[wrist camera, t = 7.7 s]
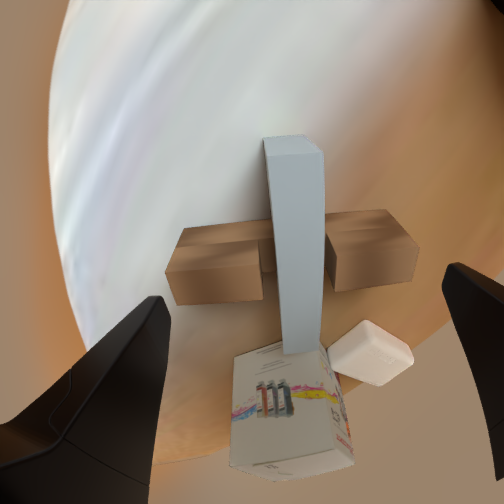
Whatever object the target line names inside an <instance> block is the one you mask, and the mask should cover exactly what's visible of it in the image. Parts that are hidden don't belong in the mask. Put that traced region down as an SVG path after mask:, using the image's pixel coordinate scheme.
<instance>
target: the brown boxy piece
mask: <svg viewBox="0 0 504 504" xmlns="http://www.w3.org/2000/svg"><path fill="white" fill-rule="evenodd" d="M419 248H420V247H419V246H418V245H417V243H416V242H415V241H414V240H413V239H412V238H411V236H410V235H409V234H408V233H407V232H406V231H405V230H404V228H403V227H402V226H401V225H400V224H399V223H398V222H397V221H396V220H395V218H394V217H393V216H392V215H391V214H390V213H389V212H388V211H387V210H371V211H357V212H344V213H331V214H325V241H324V266H326V269H327V272H328V274H329V277H330V280H331V283H332V286H333V289H334V292H339V291H347V290H355V289H362V288H370V287H377V286H383V285H390V284H397V283H403V282H409V281H412V278H413V274H414V270H415V266H416V261H417V257H418V253H419ZM274 271H277V267H276V255H275V244H274V233H273V223H272V219H264V220H255V221H245V222H236V223H227V224H218V225H209V226H201V227H192V228H184V230H183V232H182V234H181V236H180V238H179V241H178V243H177V245H176V248H175V250H174V252H173V254H172V257H171V259H170V261H169V264H168V266H167V268H166V271H165V274H166V277H167V280H168V283H169V286H170V288H171V291H172V294H173V296H174V299H175V302H176V304H177V306H179V305H197V304H213V303H228V302H241V301H253V300H263V279H262V273H264V272H274Z"/></svg>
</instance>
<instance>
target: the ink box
mask: <svg viewBox="0 0 504 504" xmlns="http://www.w3.org/2000/svg"><path fill="white" fill-rule="evenodd" d="M354 464H355V458H354V453H353V448H352V442H351V436H350V431H349V425H348V420H347V415H346V410H345V405H344V400H343V395H342V390H341V385H340V381H339V376H338V372H335V371H333V370H332V369H331V367H330V364H329V359H328V355H327V352H326V350H325V349H324V347H323V346H322V344H321V342H320V341H319V351H312V352H303V353H294V354H284V353H283V342H282V341H280V342H277V343H274V344H271V345H268V346H266V347H263V348H260V349H257V350H254V351H251V352H248V353H245V354H242V355H239V356H236V357H234V368H233V392H232V416H231V438H230V462H229V466H230V467H232V468H235V469H237V470H240V471H242V472H245V473H248V474H251V475H254V476H257V477H260V478H263V479H267V480H270V481H273V482H275V481H281V480H297V479H302V478H306V477H311V476H315V475H319V474H323V473H327V472H331V471H334V470H338V469H342V468H345V467H348V466H352V465H354Z"/></svg>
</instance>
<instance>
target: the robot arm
mask: <svg viewBox="0 0 504 504" xmlns="http://www.w3.org/2000/svg"><path fill="white" fill-rule="evenodd" d="M491 1H492V3H493V4H494V5H495V6H496V8H497V9H498V10H499V11H500V12H501V13H502V14H503V15H504V0H491ZM442 292H443V294H444V297H445V300H446V303H447V305H448V308H449V311H450V314H451V317H452V320H453V323H454V326H455V329H456V331H457V334H458V336H459V339H460V341H461V344H462V346H463V349H464V352H465V354H466V357H467V360H468V362H469V365H470V368H471V371H472V374H473V377H474V380H475V383H476V386H477V390H478V393H479V397H480V400H481V404H482V407H483V411H484V415H485V419H486V423H487V428H488V431H489V432H488V433H489V438H490V443H491V449H492V454H493V461H494V468H495V477H496V480H497V481H498V480H500V479H502V478H504V286H503V285H501V284H499V283H497V282H496V281H494V280H492V279H490V278H488V277H487V276H485V275H483V274H481V273H479V272H477V271H475V270H473V269H471V268H470V267H468V266H466V265H464V264H462V263H460V262H456V263H450V264H449V265H448V266H447V269H446V272H445V275H444V279H443V282H442ZM170 329H171V317H170V314H169V311H168V309H167V306H166V304H165V301H164V299H163V298H162V296H149V297H147V298H146V299H145V300H144V301H142V302H141V303H140V304H139V305H138V306H137V307H136V308H135V309H134V310H132V311H131V312H130V313H129V314H128V315H127V316H126V317H125V318H124V319H123V320H121V321H120V322H119V323H118V324H117V325H116V326H115V327H114V328H113V329H112V330H110V331H109V332H108V333H107V334H106V335H105V336H104V337H103V338H102V339H101V340H100V341H99V342H98V343H96V344H95V345H94V346H93V347H92V348H91V349H90V350H89V351H88V352H87V353H86V354H85V355H84V356H83V357H82V358H81V359H80V360H79V361H77V362H76V363H75V364H74V365H73V366H72V368H71V369H69V370H68V371H67V372H66V373H65V374H64V375H63V376H62V377H61V378H60V379H59V380H58V381H56V382H55V383H54V384H53V385H52V386H51V387H50V388H49V389H48V390H47V391H45V392H44V393H43V394H42V395H41V396H40V397H39V398H37V399H36V400H35V401H34V402H33V403H31V404H30V405H29V406H28V407H27V408H26V409H24V410H23V411H22V412H21V413H19V415H17V416H16V417H15V418H13V419H12V420H10V421H9V422H7V423H4V424H0V504H148V495H149V484H150V475H151V467H152V459H153V451H154V444H155V437H156V430H157V423H158V417H159V411H160V405H161V399H162V393H163V387H164V382H165V376H166V371H167V364H168V352H169V340H170Z"/></svg>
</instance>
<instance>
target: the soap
mask: <svg viewBox="0 0 504 504" xmlns="http://www.w3.org/2000/svg"><path fill="white" fill-rule="evenodd" d="M327 355H328V359H329V364H330V367H331V369H332V370H333V371H335V372H338V373H341V374H343V375H346V376H349V377H351V378H354V379H357V380H360V381H363V382H365V383H368V384H371V385H374V386H377V387H380V386H382V385H384V384H385V383H387V382H389V381H390V380H391V379H392V378H394V377H395V376H396V375H398V374H399V373H401V372H403V371H404V370H405V369H407V368H408V367H409V366H412V365H413V364H414V357H413V355H412V353H411V350H410V348H409V346H408V345H407V344H406V343H404V342H403V341H401V340H399V339H398V338H396V337H395V336H393V335H391V334H390V333H388V332H387V331H385V330H383V329H382V328H380V327H379V326H377V325H375V324H374V323H372V322H370V321H369V320H363V321H361V322H360V323H359V324H358V325H356V326H355V327H354V328H353V329H351V330H350V331H349V332H348V333H346V334H345V335H344V336H342V337H341V338H340V339H339V340H337V341H336V342H335V343H333V344H332V345H331V346H329V347H328V349H327Z"/></svg>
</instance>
